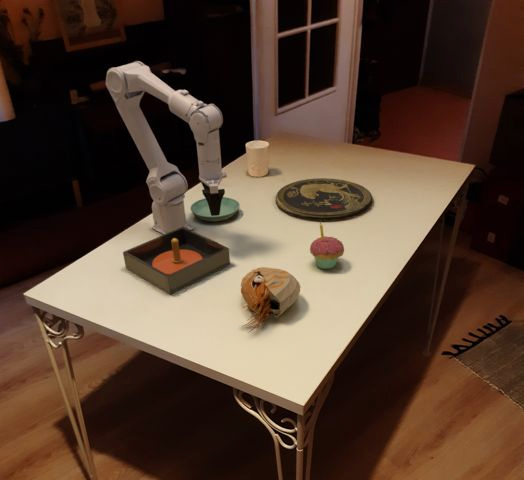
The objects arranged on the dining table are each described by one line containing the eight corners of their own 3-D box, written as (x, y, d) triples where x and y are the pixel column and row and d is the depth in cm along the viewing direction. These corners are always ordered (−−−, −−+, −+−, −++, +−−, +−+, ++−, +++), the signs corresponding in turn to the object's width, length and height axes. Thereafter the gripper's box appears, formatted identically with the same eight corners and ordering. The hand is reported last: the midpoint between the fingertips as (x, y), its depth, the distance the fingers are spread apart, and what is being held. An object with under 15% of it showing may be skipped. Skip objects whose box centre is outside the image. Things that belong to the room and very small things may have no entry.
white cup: (243, 176, 194) (242, 147, 187) (250, 168, 199) (249, 139, 193) (265, 178, 192) (265, 149, 185) (272, 170, 197) (271, 141, 191)
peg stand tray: (125, 268, 146) (122, 252, 143) (185, 242, 156) (183, 226, 153) (170, 294, 135) (167, 277, 132) (230, 264, 146) (229, 248, 143)
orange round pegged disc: (142, 265, 146) (137, 239, 141) (181, 247, 153) (178, 222, 148) (173, 283, 138) (169, 256, 134) (213, 263, 145) (211, 237, 141)
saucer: (241, 204, 176) (241, 195, 174) (238, 224, 164) (238, 216, 162) (194, 204, 176) (193, 196, 175) (188, 225, 165) (187, 217, 163)
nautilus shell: (272, 346, 119) (212, 331, 125) (313, 291, 133) (257, 280, 139) (268, 316, 114) (206, 302, 120) (311, 262, 128) (253, 252, 134)
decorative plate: (375, 216, 161) (271, 214, 164) (375, 222, 163) (271, 220, 165) (370, 178, 185) (279, 177, 188) (369, 183, 186) (279, 182, 189)
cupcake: (315, 274, 141) (317, 230, 133) (304, 259, 147) (305, 216, 140) (348, 269, 142) (351, 225, 135) (335, 254, 149) (338, 211, 141)
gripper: (228, 166, 136) (232, 219, 144) (221, 147, 147) (225, 196, 156) (199, 169, 135) (204, 221, 143) (194, 149, 146) (199, 199, 155)
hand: (213, 209), depth 150 cm, fingers open, 7 cm apart
